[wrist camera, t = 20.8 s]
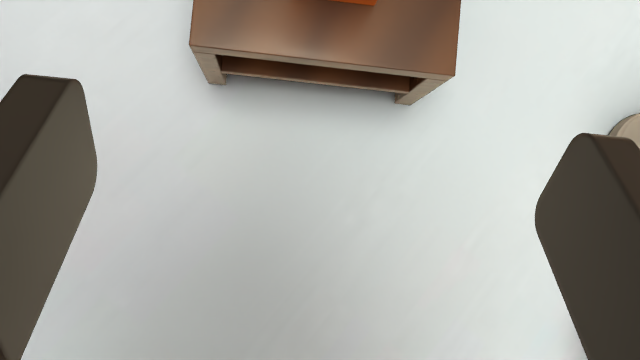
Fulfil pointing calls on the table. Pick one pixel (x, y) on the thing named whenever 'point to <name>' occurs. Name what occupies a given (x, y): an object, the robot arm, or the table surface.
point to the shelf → (330, 42)
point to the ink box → (360, 1)
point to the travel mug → (628, 129)
